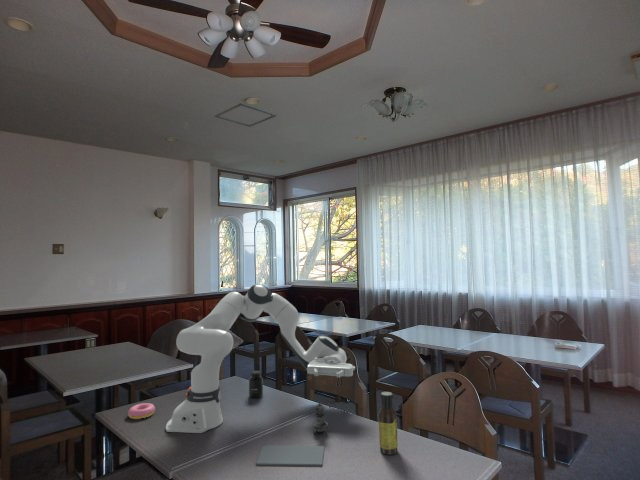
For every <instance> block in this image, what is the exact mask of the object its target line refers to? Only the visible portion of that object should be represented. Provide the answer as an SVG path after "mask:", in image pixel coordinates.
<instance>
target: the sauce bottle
mask: <svg viewBox="0 0 640 480" xmlns="http://www.w3.org/2000/svg"><path fill="white" fill-rule="evenodd" d="M380 394H381V395H380V398H381V407H380V409H379V412H378V435H379V437H378V438H379V450H380V451H379V452H381V454H382V455H383V454H384V455H394V454H396V453H397V452H398V446H399V445H398V444H399V443H398V442H399V441H398V421H397V419H398V418H397V413H396V410H395V409H394V407H393V406H394V405H393V397H394V394H393V393H392V392H390V391H382V392H381V393H380Z"/></svg>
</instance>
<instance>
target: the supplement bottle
mask: <svg viewBox="0 0 640 480" xmlns="http://www.w3.org/2000/svg"><path fill="white" fill-rule="evenodd" d="M261 375H262V371H261V370H252V371H251V372H250V378H248V398H249V399H252V400H253V399H254V400H256V399H257V400H258V399H260V398H262V397H264V396H263V395H264V379H263V377H262V376H261Z"/></svg>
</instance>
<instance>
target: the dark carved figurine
mask: <svg viewBox="0 0 640 480" xmlns="http://www.w3.org/2000/svg"><path fill="white" fill-rule="evenodd" d="M324 409H325V408H324V404H322V403H321V402H320V401H319V402H318V404H316V407H315V412H316V413H315V421H313V422H312V426H313V429H314V431H313V435H314V436H316V437H326V436H327V435H328V432H327V427H328V425H329V423H328V422H327V421H325V412H324Z"/></svg>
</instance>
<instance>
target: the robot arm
mask: <svg viewBox="0 0 640 480" xmlns="http://www.w3.org/2000/svg"><path fill="white" fill-rule="evenodd" d="M263 312H264V313H267V314H268V315H269V316H270V317H271V318H273V320H274V321H275V322H276V324H278V326H279V328H280V336H281V337H282V339H283V340H284V341H285V343H286V344H287V346H288V347H289V348H290V349H291V350H292V352H293V353H294V355H295V356H296V357H297V359H298V361H299V362H300V364H301V365H302V367H303V368H304V369H305V370H306V372H307V374H308V375H313V376H314V377H318V376H331V377H336V378H337V379H338V378H339V379H340V378H341V377H348V378H349V377H353V375H354V371H355V369H356V366H355V365H353V364H351V363H347V358H348V357H347V354H346V351H345V350H344V349H343V348H340V347H339V345H338V343H337V342H336V341H335V340H334V339H333V338H332V337H330V336H328V335H319V336H318V337H317V338H316V339H315V341H314V342H313V343H312V344H311V345H310V346H309V348H308V349H307V350H305V349H304V347H303V346H302V345H301V343H300V342H299V341H298V340H297V338H296V330H297V326H298V323H299V316H300V315H299V312H298V310H297V308H296V306H294V305H293V304H292V303H290V302H289V301H288V300H287V299H286V298H284V297H283V296H281V295H279V294H278V293H275V292H272V290H270V289H269V288H268V287H267V286H265V285H264V284H261V283H255V284H253V285H251V286H250V287H249V289H248V290H247V292H246V294H245V295H242V294H241V293H240V292H237V291H231V292H229V293H227V294H225V296H223V298H221V300H219V301H218V303H217V304H216V305H215V307H214V308H213V309H212V310H211V312H210V313H209V314H208V315H207V316H205V317H204V318H202V319H201V320H199V321H198V322H196V323H195V324H193V325H191V326H189V327H187V328H183V329H181V330H180V331H179V333H178V334H177V336H176V340H175V341H176V343H175V344H176V347H177V350H179V351H180V352H182V353H185V354H187V355H194V356H200V357H201V361H200V363H199V364H197V365H196V366H195V367H193V369H191V372H190V381H191V382H190V384H191V385H190V386H189V388H188V389H187V391H186V392H185V393H186V394H185V399H184V400H183V402H181V403H180V404H178V405H177V407H175V409H174V410H173V412H172V415H171V418H170V419H169V420H168V421H167V423H166V425H165V431H166V432H167V433H168V432H169V433H170V432H171V433H187V434H188V433H189V434H202V433H205V432H206V431H209V430H211V429H215V428H217V427H219V426H220V425H222V424H223V422H224V418H223V415H222V409H221V404H220V401H221V388H220V382H219V381H220V380H219V379H220V367H221V364H222V362H223V360H224V359H225V357H226V356H228V355H229V354H230V353H231V352H232V350H233V348H234V347H233V346H234V342H235V341H234V338H233V335H232V333H230V332H229V330H230V329H231V328H232V326H233V325H234V324H235V322H236V320H237V319H238V318H240V319H241V320H243V321H245V322H247V323H253V322H255V321H256V320H258V319H259V318H260V316H261V314H262V313H263Z"/></svg>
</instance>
